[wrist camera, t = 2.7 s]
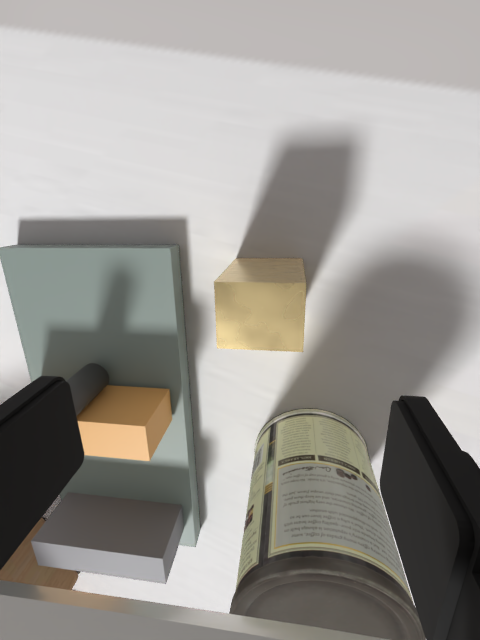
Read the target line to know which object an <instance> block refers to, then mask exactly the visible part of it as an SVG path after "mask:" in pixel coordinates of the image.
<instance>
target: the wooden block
mask: <svg viewBox="0 0 480 640" xmlns="http://www.w3.org/2000/svg"><path fill="white" fill-rule="evenodd" d="M44 523H45V520H44V519H43V518H41V519H40V520H39V521H38V522H37V524H36V525H35V526H34V528H33V529H32V530H31V531H30V533H29V534H28V535H27V537H26V538H25V539H24V540H23V542H22V543H21V544H20V546H19V547H18V548H17V550H16V551H15V552H14V553H13V555H12V556H11V557H10V559H9V560H8V561H7V562H6V564H5V565H4V566H3V568H2V569H1V570H0V580H3V581H10V582H17V583H24V584H31V585H38V586H45V587H52V588H59V589H66V590H72V588H73V586H74V584H75V582H76V581H77V579H78V574H77V572H76V571H75V570H68V569H61V568H54V567H47V566H40V565H38V563H37V560H36V556H35V553H34V550H33V547H32V543H31V540H32V539H33V537H34V536H35V535H36V533H37V532H38V531H39V530H40V528H41V527H42V526H43V524H44Z"/></svg>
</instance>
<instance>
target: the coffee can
mask: <svg viewBox="0 0 480 640" xmlns="http://www.w3.org/2000/svg"><path fill="white" fill-rule="evenodd" d="M229 614H234V615H240V616H247V617H254V618H260V619H267V620H273V621H280V622H286V623H293V624H299V625H306V626H312V627H319V628H324V629H330V630H336V631H342V632H348V633H353V634H359V635H365V636H371V637H376V638H382V639H388V640H426V638H425V635H424V632H423V629H422V625H421V622H420V619H419V616H418V612H417V609H416V607H415V606H414V604H413V601H412V597H411V594H410V591H409V588H408V584H407V581H406V578H405V575H404V571H403V568H402V565H401V562H400V558H399V555H398V552H397V548H396V545H395V542H394V539H393V535H392V532H391V529H390V525H389V522H388V519H387V515H386V512H385V509H384V505H383V502H382V499H381V496H380V493H379V489H378V486H377V483H376V479H375V476H374V473H373V470H372V466H371V463H370V460H369V456H368V451H367V446H366V443H365V441H364V439H363V437H362V436H361V434H360V433H359V431H358V430H357V429H356V428H355V427H354V426H353V425H352V424H351V423H350V422H348V421H347V420H346V419H344V418H342V417H340V416H338V415H336V414H334V413H331V412H328V411H324V410H319V409H297V410H294V411H290V412H286V413H284V414H281V415H279V416H277V417H275V418H274V419H272V420H271V421H270V422H269V423H267V424H266V426H265V427H263V429H262V430H261V432H260V434H259V436H258V438H257V440H256V444H255V457H254V464H253V471H252V477H251V485H250V492H249V500H248V507H247V514H246V521H245V528H244V535H243V540H242V548H241V556H240V563H239V570H238V577H237V585H236V592H235V594H234V596H233V599H232V603H231V608H230V613H229Z"/></svg>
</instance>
